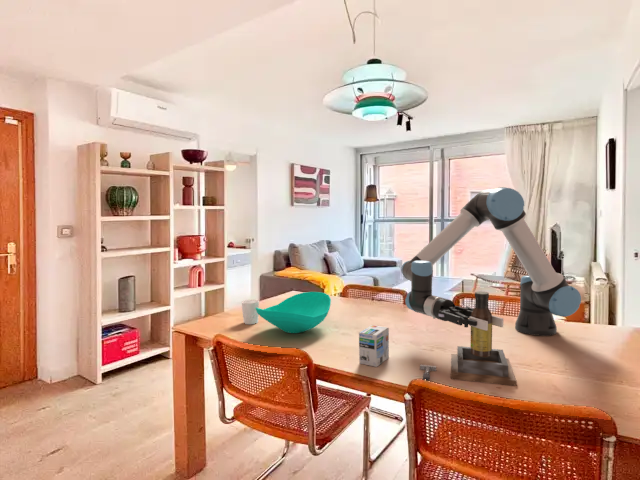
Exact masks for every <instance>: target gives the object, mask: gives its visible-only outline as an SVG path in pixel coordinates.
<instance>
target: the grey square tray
mask: <svg viewBox="0 0 640 480" xmlns="http://www.w3.org/2000/svg"><path fill="white" fill-rule="evenodd" d="M456 350H457V353H450V357H451V359H450V379H451V380H458V381H467V382H475V383H476V382H477V383H487V384H494V385H495V384H497V385H505V386H514V387H515V386H517V382H518V381H517V378H516V375H515V373H514V369H513V367H512V364H511V362H510V359H509V358H506V355H505V352H504V349H501V348H500V349H498V348H497V349H496V348H492V350H491V356H489V357H477V356H475V355H473V354H472V353H471V346H462V345H461V346H460V345H457V348H456Z"/></svg>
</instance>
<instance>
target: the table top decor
mask: <svg viewBox="0 0 640 480" xmlns="http://www.w3.org/2000/svg"><path fill="white" fill-rule="evenodd" d="M331 303H332V299H331V297H330V295H329V294H327V293H326V292H321V291H306V292H304V291H303V292H301V293H296V294H294V295H292V296H289V297H288V298H286V299H284V300H282V301H281V302H279V303H278V304H274V305H272V306H268V307H266V308H264V309H263V308H261V307H259V308H256V311H257V313H258V314H259V317H261V318H262V319H263V320H265V321H267V323H268V322H269V323H270V324H271V325H273V326H274V327H276V328H278V329H279V330H282V331H283V332H285V333H288V334H299V333H304V332H306V331H309V330H311V329H314V328H315V327H318V325H320V324H321V323H322V322H324V321H325V319H326V317H327V316H328V315H329V314H328V313H329V311H330V309H331V305H332V304H331Z"/></svg>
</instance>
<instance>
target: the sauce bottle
mask: <svg viewBox="0 0 640 480" xmlns="http://www.w3.org/2000/svg"><path fill="white" fill-rule="evenodd" d="M489 294H490V293H489V292H487V291H482V290H481V291H479V290H478V291H475V293H474V297H475V305H474V310H473V311H472V314H471V317H474V318H478V319H481V320H485V321H488V330H487V331H485V330H482V329H479V328H476V327H473V326H470V347H471V353H472V354H473V355H475V356H477V357H489V356H491V350H492V349H493V325H492V315H493V313H492V312H491V310H490V308H489V298H490V295H489Z"/></svg>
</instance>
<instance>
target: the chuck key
mask: <svg viewBox="0 0 640 480" xmlns="http://www.w3.org/2000/svg"><path fill="white" fill-rule="evenodd" d="M419 370H420V371H424V372H423V374H422V379H423V380H424V379H426V380H428V381H429V380H430V378H431V374H430V372H437V365H430V364H429V365H427V364H420V365H419Z"/></svg>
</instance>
